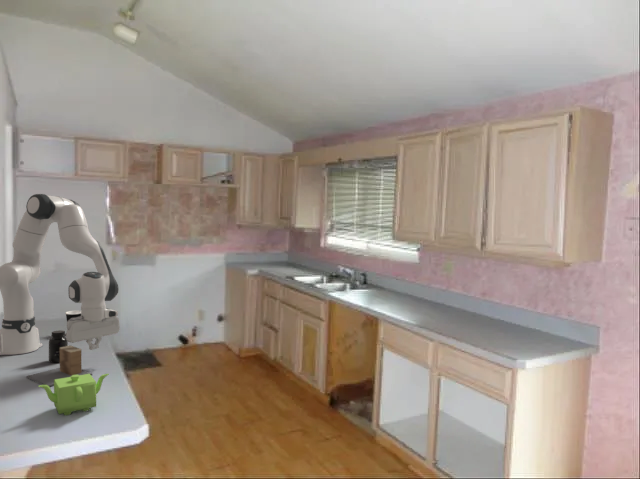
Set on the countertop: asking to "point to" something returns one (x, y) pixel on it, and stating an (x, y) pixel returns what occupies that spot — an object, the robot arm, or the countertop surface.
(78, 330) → the robot arm
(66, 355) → the slab
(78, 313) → the dixie cup
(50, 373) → the mat
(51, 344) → the supplement bottle
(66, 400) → the teapot
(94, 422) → the countertop surface
